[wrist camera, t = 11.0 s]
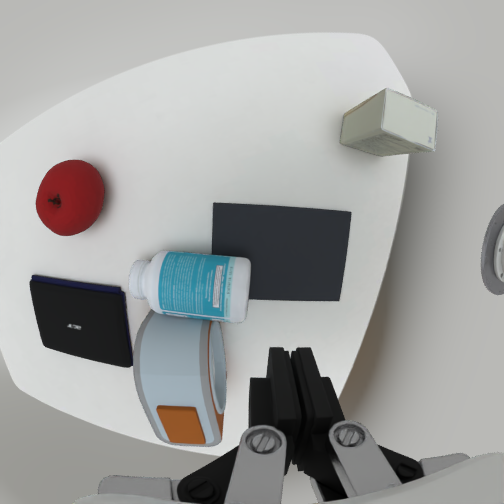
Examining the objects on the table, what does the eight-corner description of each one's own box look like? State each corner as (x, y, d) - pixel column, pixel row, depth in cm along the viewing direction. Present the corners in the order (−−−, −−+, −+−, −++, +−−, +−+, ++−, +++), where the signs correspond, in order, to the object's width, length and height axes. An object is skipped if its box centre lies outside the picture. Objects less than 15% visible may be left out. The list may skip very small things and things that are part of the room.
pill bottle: (253, 244, 31) (139, 234, 31) (247, 300, 26) (116, 283, 26) (249, 285, 37) (151, 274, 37) (244, 335, 31) (135, 320, 31)
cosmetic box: (385, 127, 31) (440, 110, 19) (381, 158, 32) (437, 153, 20) (342, 112, 30) (386, 84, 19) (337, 145, 31) (381, 129, 20)
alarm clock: (230, 383, 40) (226, 452, 26) (177, 383, 40) (158, 448, 26) (217, 297, 36) (204, 359, 23) (156, 300, 36) (118, 357, 23)
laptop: (32, 257, 34) (25, 261, 32) (137, 290, 35) (132, 296, 34) (40, 339, 38) (35, 344, 36) (134, 376, 39) (131, 383, 37)
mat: (350, 211, 33) (351, 212, 33) (338, 300, 36) (339, 301, 36) (213, 202, 33) (213, 202, 33) (211, 296, 36) (211, 297, 36)
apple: (75, 152, 30) (29, 148, 21) (125, 174, 32) (84, 174, 22) (56, 213, 32) (11, 225, 23) (102, 239, 34) (61, 259, 24)
